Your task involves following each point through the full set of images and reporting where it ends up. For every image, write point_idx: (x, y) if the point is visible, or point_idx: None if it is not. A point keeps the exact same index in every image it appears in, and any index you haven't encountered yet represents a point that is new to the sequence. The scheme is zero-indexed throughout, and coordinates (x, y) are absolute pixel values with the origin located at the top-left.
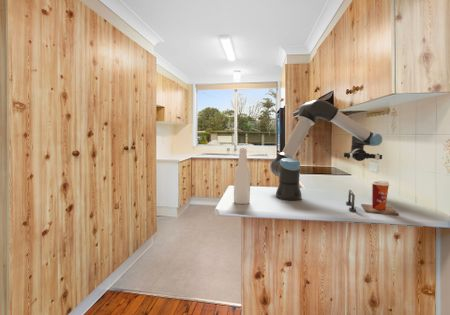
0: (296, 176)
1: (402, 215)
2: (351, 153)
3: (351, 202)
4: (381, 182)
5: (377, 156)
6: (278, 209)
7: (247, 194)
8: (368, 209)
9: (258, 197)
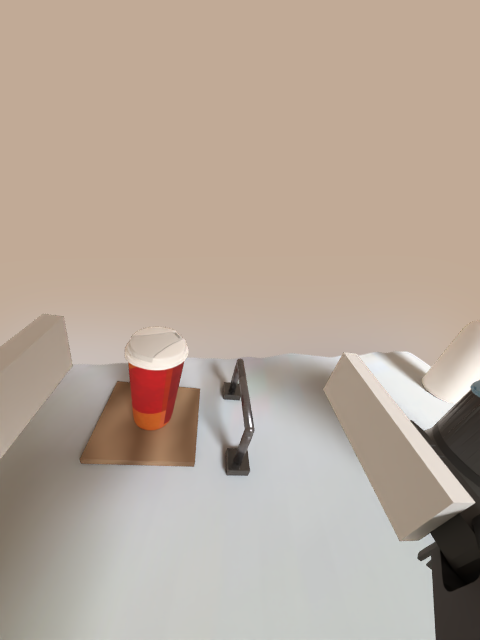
0: (454, 410)
1: (102, 390)
2: (388, 409)
3: (230, 462)
4: (164, 329)
5: (50, 350)
6: None
7: (432, 368)
8: (190, 396)
9: None
